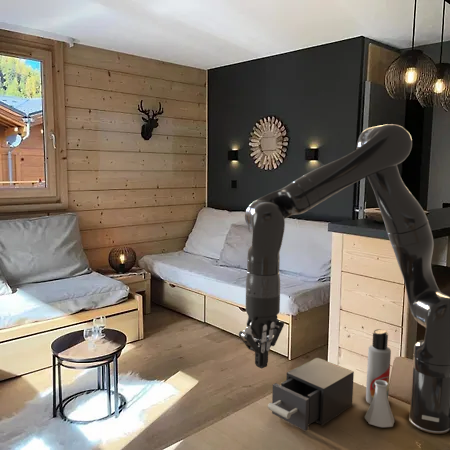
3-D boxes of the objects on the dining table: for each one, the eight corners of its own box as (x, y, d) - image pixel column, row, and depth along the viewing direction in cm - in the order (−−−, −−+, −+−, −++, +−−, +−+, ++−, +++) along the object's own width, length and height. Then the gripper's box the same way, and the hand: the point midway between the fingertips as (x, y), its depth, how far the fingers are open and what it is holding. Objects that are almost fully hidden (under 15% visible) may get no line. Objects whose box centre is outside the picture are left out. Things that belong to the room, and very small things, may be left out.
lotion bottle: (388, 408, 119) (392, 335, 116) (365, 405, 120) (369, 333, 117) (387, 397, 124) (391, 328, 121) (365, 394, 126) (369, 325, 123)
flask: (397, 430, 109) (399, 391, 108) (365, 426, 110) (367, 388, 109) (392, 414, 116) (394, 377, 115) (362, 410, 117) (364, 374, 116)
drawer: (293, 438, 104) (294, 407, 103) (260, 419, 112) (261, 390, 110) (335, 411, 115) (336, 382, 114) (302, 396, 123) (303, 369, 122)
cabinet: (322, 425, 111) (323, 388, 109) (285, 406, 119) (286, 372, 118) (352, 405, 120) (353, 371, 119) (316, 389, 128) (317, 357, 127)
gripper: (254, 301, 92) (253, 382, 94) (295, 289, 101) (293, 363, 103) (229, 293, 97) (228, 369, 100) (269, 283, 106) (268, 353, 109)
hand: (261, 366), depth 101 cm, fingers closed
